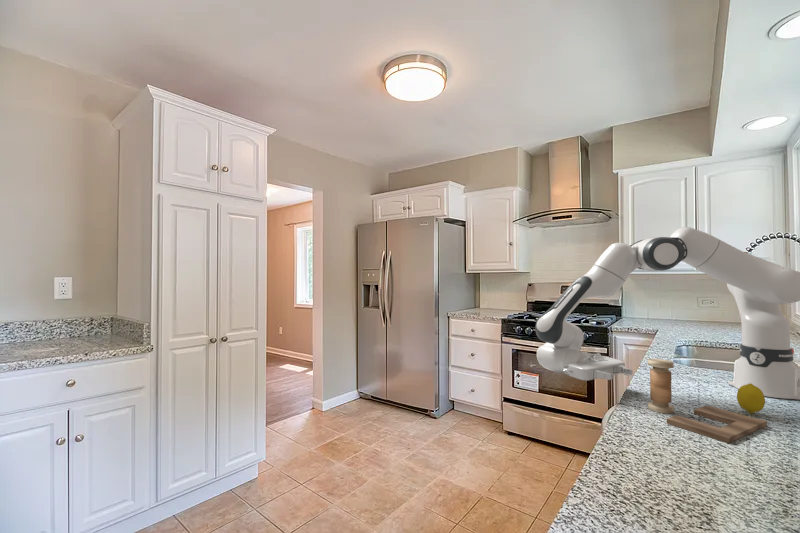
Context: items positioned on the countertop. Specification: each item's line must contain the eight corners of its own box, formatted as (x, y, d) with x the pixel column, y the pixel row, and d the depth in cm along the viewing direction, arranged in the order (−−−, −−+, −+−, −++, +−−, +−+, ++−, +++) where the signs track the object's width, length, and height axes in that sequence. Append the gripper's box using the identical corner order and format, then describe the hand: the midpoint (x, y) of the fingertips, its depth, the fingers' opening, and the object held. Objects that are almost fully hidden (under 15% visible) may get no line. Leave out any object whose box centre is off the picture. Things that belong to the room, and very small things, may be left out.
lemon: (759, 419, 99) (759, 387, 99) (732, 412, 103) (732, 382, 104) (769, 415, 101) (768, 384, 101) (742, 408, 106) (742, 379, 106)
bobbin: (655, 404, 109) (655, 357, 109) (678, 411, 104) (678, 362, 104) (643, 408, 106) (643, 360, 106) (666, 415, 101) (666, 364, 101)
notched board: (706, 409, 105) (706, 405, 105) (766, 426, 94) (766, 421, 94) (666, 423, 95) (666, 418, 95) (728, 443, 85) (728, 437, 85)
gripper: (558, 358, 122) (599, 368, 110) (599, 352, 132) (641, 360, 120) (559, 378, 122) (599, 390, 110) (599, 370, 132) (641, 380, 120)
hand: (621, 374), depth 115 cm, fingers open, 8 cm apart
